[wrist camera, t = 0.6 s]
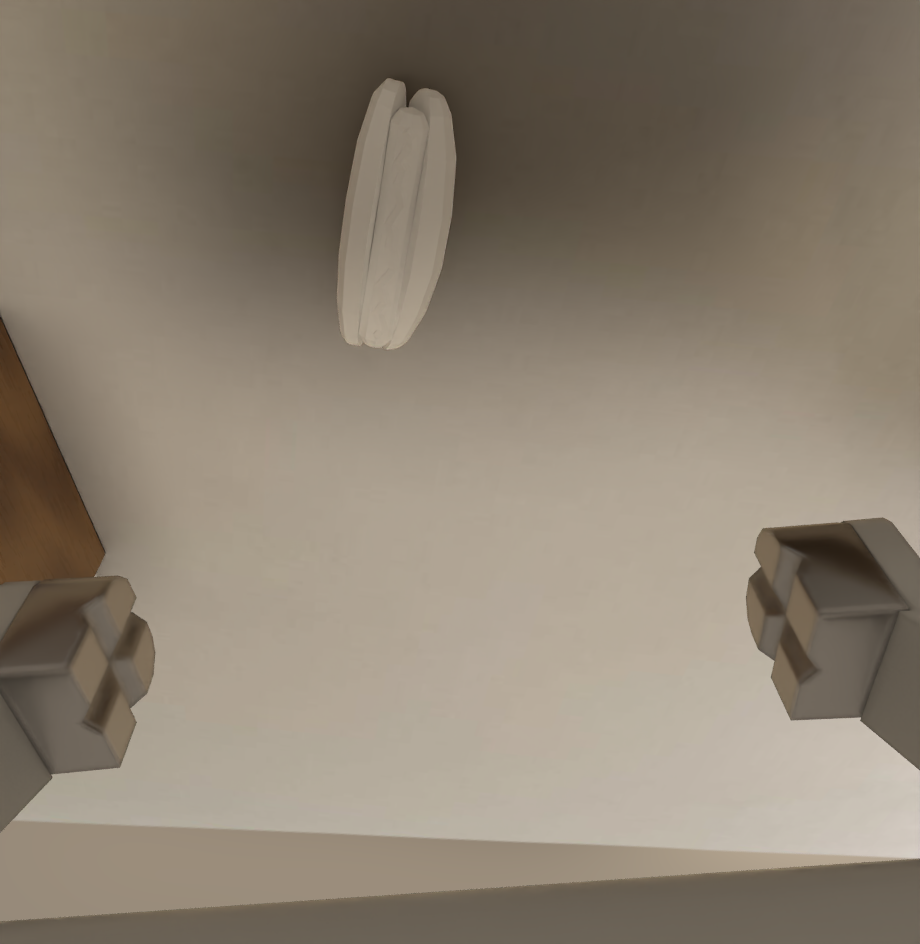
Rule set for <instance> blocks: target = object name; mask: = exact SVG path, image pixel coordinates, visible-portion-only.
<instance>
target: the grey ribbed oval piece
mask: <svg viewBox="0 0 920 944" xmlns="http://www.w3.org/2000/svg"><path fill="white" fill-rule="evenodd" d="M456 159H457V158H456V150H455V141H454V132H453V124H452V115H451V112H450V110H449V107H448V105H447V102H446V100H445V97H444V96H443V95H442V94H440V93H439V92H438V91H436V90H432V89H428V88H424V89H419V90H418V91H417V93H416V94H415V95H414V96H413V98H412V99H411V100H410V103H409V107H406V87H405V84H404V83H403V82H401V81H397V80H394V79H391V78H387V79H386V80H385V81H384V82H383V83H382V84H381V85H380V86H379V87H378V88H377V89H376V90H375V91H374V93H373V94H372V97H371V100H370V103H369V106H368V109H367V112H366V115H365V118H364V121H363V124H362V127H361V130H360V133H359V136H358V139H357V144H356V149H355V154H354V159H353V164H352V169H351V175H350V180H349V185H348V190H347V195H346V201H345V209H344V217H343V224H342V232H341V240H340V247H339V259H338V282H337V307H338V316H339V325H340V333H341V335H342V336H343V338H344V339H345V341H346V342H347V343H348V344H351V345H355V346H359V347H360V346H361V345H362V344H363V342H364V343H365V344H366V345H368V346H371V347H374V348H381V347H382V348H383V349H385V350H389V349H396V348H399V347H401V346H402V345H404V344H405V343H406V342H407V341H408V340H409V339H410V337H411V335H412V334H413V332H414V331H415V329H416V327H417V326H418V324H419V323H420V321H421V320H422V318H423V316H424V315H425V313H426V310H427V308H428V305H429V302H430V300H431V297H432V294H433V292H434V289H435V286H436V284H437V281H438V278H439V275H440V273H441V270H442V265H443V260H444V255H445V250H446V244H447V239H448V234H449V229H450V224H451V218H452V210H453V197H454V184H455V172H456Z"/></svg>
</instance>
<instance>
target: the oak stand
mask: <svg viewBox="0 0 920 944" xmlns="http://www.w3.org/2000/svg"><path fill="white" fill-rule="evenodd" d="M104 556H105V552H104V550H103V548H102V546H101V543H100V541H99V539H98V537H97V534H96V532H95V530H94V528H93V525H92V523H91V521H90V519H89V516H88V514H87V512H86V510H85V507H84V505H83V503H82V501H81V498H80V496H79V494H78V492H77V489H76V487H75V485H74V483H73V480H72V478H71V476H70V474H69V471H68V469H67V467H66V465H65V462H64V460H63V458H62V456H61V453H60V451H59V449H58V447H57V444H56V442H55V440H54V438H53V435H52V433H51V431H50V429H49V426H48V424H47V422H46V420H45V417H44V415H43V413H42V411H41V408H40V406H39V404H38V402H37V399H36V397H35V395H34V393H33V390H32V388H31V386H30V384H29V381H28V379H27V377H26V375H25V372H24V370H23V368H22V366H21V363H20V361H19V359H18V357H17V354H16V352H15V350H14V348H13V345H12V343H11V341H10V339H9V336H8V334H7V332H6V330H5V327H4V325H3V323H2V321H1V318H0V585H1V584H3V583H5V582H17V581H42V580H44V579H62V578H82V577H94V576H95V574H96V572H97V570H98V568H99V566H100V564H101V562H102V560H103V558H104Z"/></svg>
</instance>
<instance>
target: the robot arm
mask: <svg viewBox="0 0 920 944" xmlns="http://www.w3.org/2000/svg"><path fill="white" fill-rule="evenodd" d="M754 553H755V555H756V557H757V559H758V561H759V563H760V565H761V567H760V568H759V569H758V570H757V571H756V572H755V573H754V574H753V575H752V576H751V577H750V578H749V582H748V588H747V595H746V605H747V618H748V622H749V626H750V629H751V633H752V636H753V638H754V640H755V643H756V645H757V647H758V650H760V651H761V652H763V653H764V654H766V655H767V656H768V657H770V658H771V659H773V660H774V661H775V662H774V666H773V670H772V675H771V678H772V681H773V683H774V685H775V687H776V689H777V691H778V694H779V696H780V698H781V700H782V702H783V704H784V707H785V709H786V711H787V713H788V715H789V717H790V720H810V719H833V718H856V717H861V720H860V721H861V722H863V723H864V724H865V725H866V726H867V727H869V728H870V729H871V730H872V731H873V732H875V733H876V734H877V735H878V736H879V737H881V738H882V739H883V740H884V741H885V742H887V743H888V744H889V745H890V746H891V747H893V748H894V749H895V750H896V751H897V752H898V753H900V754H901V755H902V756H903V757H904V758H906V759H907V760H908V761H909V762H910V763H912V764H913V765H914V766H915V767H916V768H918V769H919V770H920V558H919V556H918V555H917V554H916V552H915V551H914V550H913V549H912V547H911V546H910V545H909V544H908V542H907V541H906V540H905V538H904V537H903V536H902V535H901V533H900V532H899V531H898V529H897V528H896V527H895V526H894V524H893V523H892V522H890V521H888V520H887V519H885V518H872V519H861V520H851V521H843V522H841V523H838V522H836V523H824V524H811V525H799V526H786V527H774V528H763V529H762V530H761V532H760V534H759V535H758V537H757V541H756V546H755V550H754ZM135 600H136V595H135V593H134V591H133V589H132V587H131V585H130V583H129V581H128V579H126V578H123V577H121V576H102V577H82V578H62V579H44V580H42V581H17V582H5V583H3V584H1V585H0V832H1V831H2V830H3V829H4V828H5V827H6V826H7V825H8V824H9V823H10V822H11V821H12V820H13V819H14V818H15V817H16V816H17V815H18V813H19V812H20V811H21V810H22V809H23V808H24V807H25V806H26V805H27V804H28V803H29V802H30V801H31V800H32V799H33V798H34V797H35V796H36V795H37V794H38V792H39V791H40V790H41V789H42V788H43V787H44V786H45V785H46V784H47V783H48V782H49V781H50V780H51V779H52V776H51V774H59V773H70V772H80V771H90V770H100V769H110V768H120V766H121V763H122V761H123V758H124V755H125V753H126V750H127V747H128V744H129V742H130V739H131V736H132V734H133V731H134V728H135V725H136V723H137V722H136V720H135V718H134V716H133V713H132V711H131V709H130V708H131V707H132V706H133V705H135V704H136V703H137V702H138V701H139V700H140V699H141V698H142V697H144V696H145V695H146V694H147V692H148V689H149V686H150V683H151V680H152V677H153V674H154V662H155V648H154V642H153V636H152V634H151V631H150V629H149V626H148V624H147V622H146V621H144V620H143V619H141V618H140V617H138V616H137V615H136V614H134V613H133V612H131V610H132V607H133V605H134V602H135ZM0 944H920V859H907V860H894V861H893V860H892V861H878V862H862V863H849V864H833V865H819V866H804V867H790V868H775V869H760V870H746V871H731V872H717V873H703V874H688V875H675V876H659V877H644V878H630V879H617V880H616V879H615V880H601V881H586V882H572V883H558V884H543V885H529V886H516V887H515V886H514V887H501V888H485V889H470V890H456V891H441V892H427V893H413V894H412V893H411V894H397V895H384V896H383V895H382V896H368V897H353V898H338V899H325V900H324V899H323V900H308V901H294V902H280V903H264V904H249V905H235V906H220V907H207V908H206V907H205V908H191V909H176V910H162V911H147V912H133V913H117V914H102V915H88V916H73V917H59V918H44V919H29V920H14V921H0Z"/></svg>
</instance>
